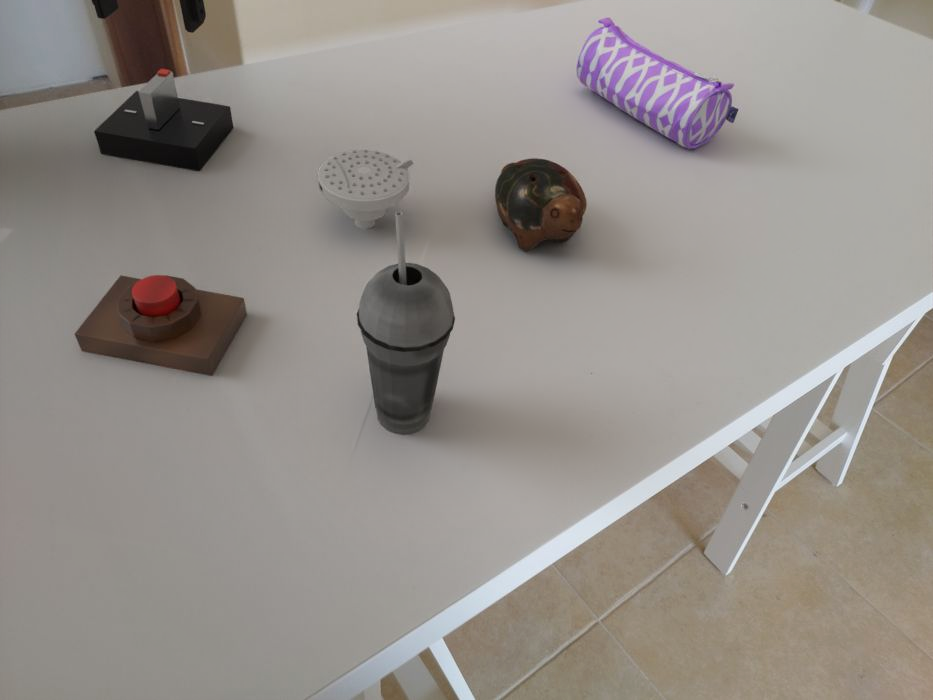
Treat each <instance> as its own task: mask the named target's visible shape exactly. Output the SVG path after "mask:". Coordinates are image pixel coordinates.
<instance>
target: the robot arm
mask: <svg viewBox="0 0 933 700" xmlns="http://www.w3.org/2000/svg"><path fill="white" fill-rule="evenodd" d="M178 1H179V5H180V6H179V7H180V10H181V15H182V22H183V25H184V29H185V31H186V32H187V33H192V34H193V33H195V32H196V31H197V30H198V29H199V28H200V27H201V26H203V24H204V23H205V20H206V16H207V15H206V14H207V13H206V7H205V1H204V0H178ZM91 3H92V5H93V6H94V10H95V13H96V17H97V18H98V19H102V20H105V19H106V18H108V17H110V15H112V14H113V13H114V12H116V11H117V10H118V9H119V2H118V0H91Z"/></svg>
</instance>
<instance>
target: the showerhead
mask: <svg viewBox="0 0 933 700" xmlns="http://www.w3.org/2000/svg"><path fill="white" fill-rule="evenodd" d="M413 165H414V161H413V160H412V159H411V158H407V159H405V160H403V161H401V160H400V159H399V158H397V157H395V156H394V155H392V154H389V153H386V152H383V151H378V150H372V149H354V150H347V151H343V152H339V153H337V154H333V155H332V156H331V157H329V158H327V159H326V160H324V161H323V162H322V164H321V165H320V167H319V169H318V172H317V179H318V189H319V191H320V193H321V195H322V196H323V198H324V199H326V200H327V201H328V202H330V203H332V204H333V205H335V206H337V207H340V208H342V211H343V213H344V214H345V215H346V216H347V217H349V218H351V219H352V220H354V224H355V226H356V227H358V228H359V229H365V230H367V229H372V228H373V227H375V225H376V220H377V219H380V218H381V217H383V216H384V215H385V214H387V213H386V212H387V210H388V208H391V207H393V206H395V205H397V204H398V203H400V202H401V201H403V200H404V198H406V196H407V195H408V192H409V190H410V180H411V179H410V178H411V174H410V171H409V168H410V167H411V166H413Z"/></svg>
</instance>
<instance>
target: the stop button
mask: <svg viewBox="0 0 933 700" xmlns="http://www.w3.org/2000/svg"><path fill="white" fill-rule="evenodd" d="M167 276H168V275H167ZM167 276H164V275H163V274H162V275H161V274H155V275H149V276H146V277H143V278H140V279H141V280H140V281H138V282H137V283H136V284H135V285H134V287H133V289H132V295H133V298H134V301H135V304H136V307H137V310H138V311H139V312H140V313H141V314H142V315H144V316H148V317H158V316H164V315H168V314H170V313H171V312H173V311H175V310H176V309H177V308H178V306H179V304H180V297H179V293H178V290H177V286H176V283H175V281H174V280H173V279H171V278H169V277H167Z"/></svg>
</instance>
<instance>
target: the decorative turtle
mask: <svg viewBox="0 0 933 700" xmlns="http://www.w3.org/2000/svg"><path fill="white" fill-rule="evenodd" d="M494 201H495V205H496V209H497V213H498V216H499V219H500V221H501V223H502V225H504V226H505V227H506V228H509V229H510V231H511V232H512V234H513V237H514V239H515V242H516V245H517V246H518V248H519V249H520V250H522V251H525V252H526V251H529V250H531V249H533V248H535V247H536V246H537V245H539V244H540V243H541V242H543V241H545V240H557V242H559V243H566V242H569V240H571V238H572V237H573V236H574V234H575V233H576V232H577V231H578V230H580V228H581V225H582V223H583V219H584V215H585V213H586V210H587V207H588V204H587V197H586V194H585V192H584V189H583V188H582V186H581V184H580V183H579V181H578V179H577V178H576V177H575V176H574V175H573V174H572V173H571V172H570V171H569V170H568V169H567V168H565V167H564V166H563V165H561V164H559V163H557V162H554V161H552V160H549V159H545V158H526V159H521V160H519V161H516V162H510V163H507V164H505V165H504V166H503V167H502V169H501V171H500V174H499V175H498V178H497V180H496V182H495V187H494Z"/></svg>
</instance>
